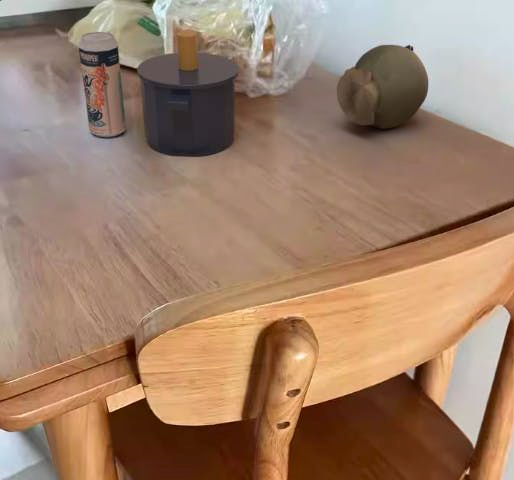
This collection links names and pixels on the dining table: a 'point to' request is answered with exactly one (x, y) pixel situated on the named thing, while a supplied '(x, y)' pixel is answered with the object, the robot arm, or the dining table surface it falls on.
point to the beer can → (102, 84)
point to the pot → (189, 119)
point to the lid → (188, 67)
